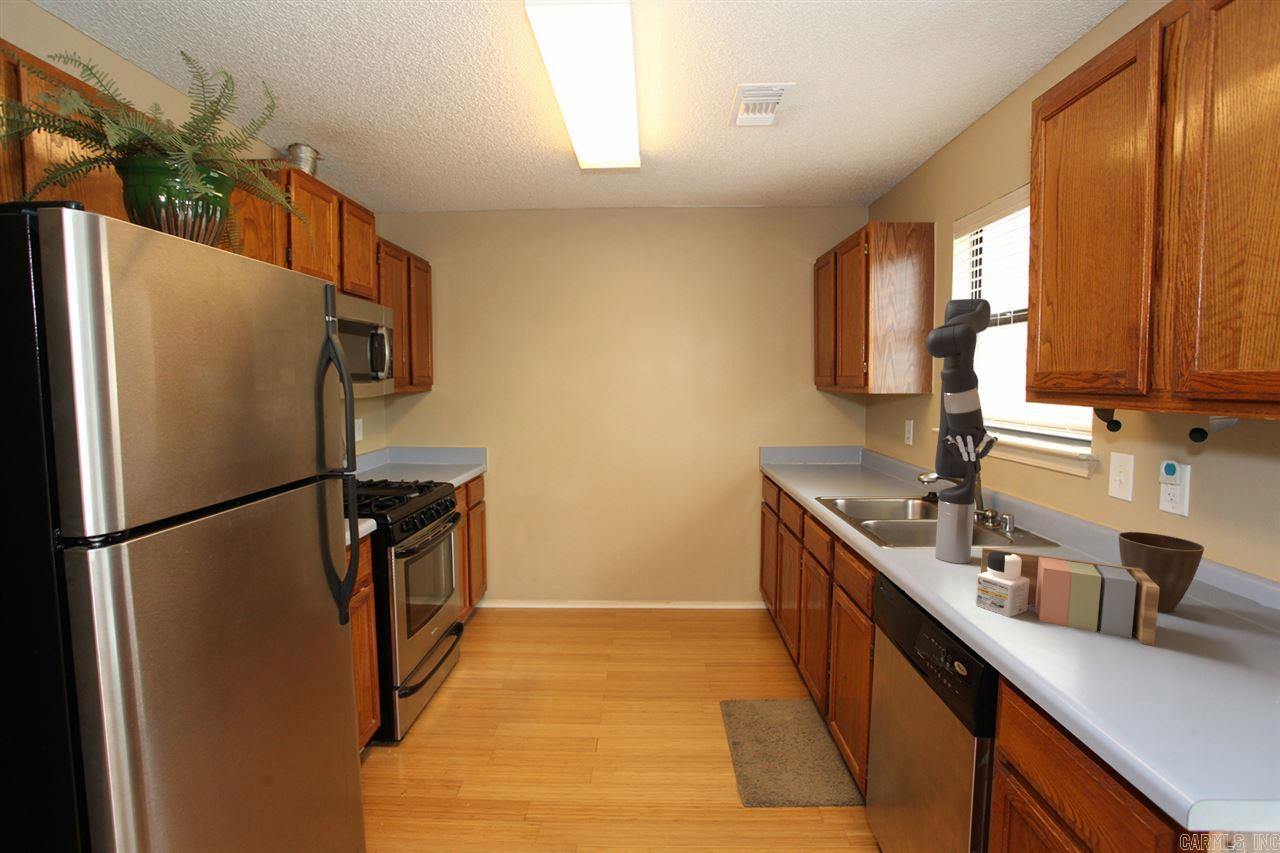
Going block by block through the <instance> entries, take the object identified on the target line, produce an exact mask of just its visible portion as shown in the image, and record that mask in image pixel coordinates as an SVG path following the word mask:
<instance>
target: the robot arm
mask: <svg viewBox="0 0 1280 853" xmlns="http://www.w3.org/2000/svg"><path fill="white" fill-rule="evenodd" d="M991 310H992V309H991V305H990V302H989V301H988V300H987V299H984V298H966V299H965V298H962V299H951V300H949V301H948V302H947V303H946V306H945V310H944V320H943V321H944V324H943V325H941V326H938V327H936V328H934V329H932V330H931V331H930V332H929V333H928V335H927V337H926V341H925V346H926V350H927V352H928V354H929V355H930V356H932V357H933V358H935V359H943V364H942V365H943V366H942V370H941V371H940V378H941V386H940V387H941V388H940V408H939V411H940V412H939V428H938V429H939V430H938V437H937V444H936V452H935V463H934V465H935V466H934V469H935V473H936V475H937V476H938V478H939V477H940V478H946V479H947V478H948V479H958V480H959V479H961V480H962V481H961V483H959V484H957V485H953V486H952V487H951V486H950V487H948V488H943V489H941V490H940V491H939V493H938V503H937V504H938V505H937V521H936V538H935V555H934V556H935V558H937V559H938V560H941V561H943V562H947V563H948V562H949V563H954V564H967V563H968V564H969V563H970V562H971V558H972V545H973V530H974V529H973V528H974V516H975V515H974V514H975V499H976V498H975V497H976V482H977V477H978V476H977V475H978V474H979V473H980V472H982V471H981V470H982V465H981V460H983V459H984V458H985V457H987V455H988V454H989V453H990V452H991V450H992V449H993V447H994V446H995V444H996V443H997V442H998V440H999V438H998V437H997V436H991V435H989V434H988V432H987V430H986V428H985V424H984V416H983V412H982V411H983V410H982V404H981V400H980V394H979V379H978V375H977V373H976V372H975V370H974V367H975V366H974V364H975V363H974V361H975V352H976V348H977V347H976V346H977V341H978V340H977V339H978V336H977V335H978V334H979V333H982V332H984V331H985V330H987V329H988V327H989V324H990V321H991V315H992V314H991V312H992V311H991ZM982 443H983V444H984V446H983V448H982V449H981V444H982Z"/></svg>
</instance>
